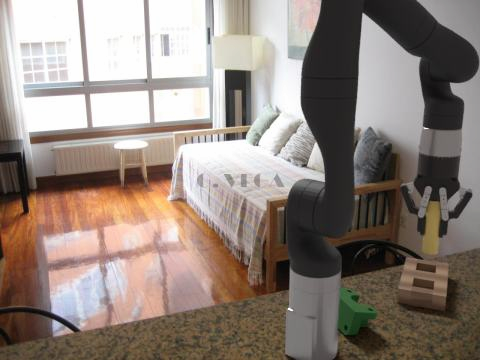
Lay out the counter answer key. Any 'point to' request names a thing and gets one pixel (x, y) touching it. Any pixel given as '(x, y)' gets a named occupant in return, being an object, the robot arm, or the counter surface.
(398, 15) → the robot arm
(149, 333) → the counter surface
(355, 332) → the clamp
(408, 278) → the hole block
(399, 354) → the counter surface
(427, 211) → the peg
